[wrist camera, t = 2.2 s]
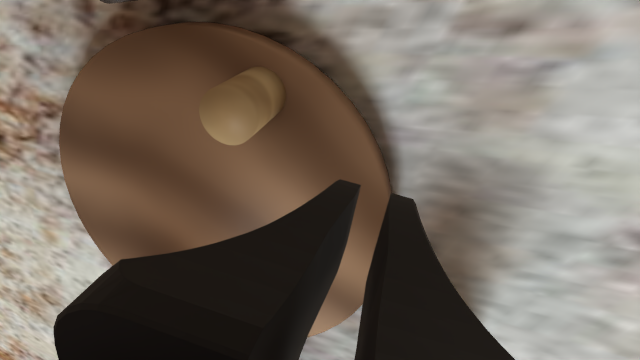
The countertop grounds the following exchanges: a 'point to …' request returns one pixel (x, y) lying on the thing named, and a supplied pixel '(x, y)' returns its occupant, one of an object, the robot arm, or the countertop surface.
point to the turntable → (215, 147)
